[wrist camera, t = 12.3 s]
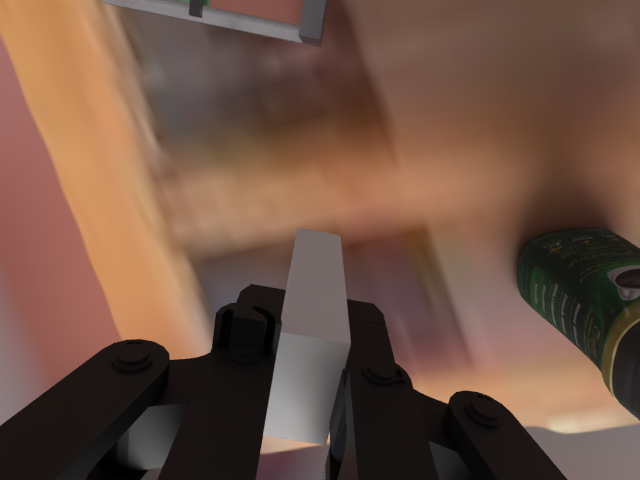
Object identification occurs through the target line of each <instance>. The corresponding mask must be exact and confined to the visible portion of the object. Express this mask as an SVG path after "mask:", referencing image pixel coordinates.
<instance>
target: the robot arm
mask: <svg viewBox="0 0 640 480" xmlns="http://www.w3.org/2000/svg"><path fill="white" fill-rule="evenodd" d="M329 431H330V449H329V452H328V456H327V460H326V464H325V468H324V472H323V476H322V480H567V479H566V477H565V476H564V475H563V474H562V473H561V471H560V470H559V469H558V468H557V467H556V465H554V463H553V462H552V461H551V459H550V458H549V457H548V456H547V455H546V454H545V452H544V451H543V450H542V449H541V448H540V446H539V445H538V444H537V443H536V442H535V440H533V438H532V437H531V436H530V434H529V433H528V432H527V431H526V430H525V429H524V427H523V426H522V425H521V424H520V423H519V421H518V420H517V419H516V418H515V417H514V415H513V414H512V413H511V412H510V411H509V410H508V409H507V408H506V407H504V406H503V405H502V404H501V403H499V402H498V401H496V400H494V399H493V398H491V397H489V396H487V395H484V394H482V393H478V392H473V391H460V392H456V393H455V394H454V395H453V396H451V397H450V400H449V403H448V404H446V403H444V402H441V401H439V400H436V399H433V398H431V397H428V396H426V395H424V394H422V393H420V392H418V391H416V390H415V389H413V385H412V382H411V379H410V377H409V376H408V374H407V372H406V371H405V370H404V369H403V368H401V367H400V366H399V365H398V364H396V363H395V360H394V356H393V352H392V348H391V344H390V340H389V336H388V332H387V328H386V324H385V320H384V316H383V313H382V312H381V311H380V310H379V309H378V308H377V307H376V306H375V305H374V304H372V303H366V302H360V301H354V300H349V299H347V298H346V288H345V278H344V268H343V258H342V248H341V238H340V235H335V234H330V233H324V232H319V231H313V230H307V229H302V228H297V233H296V239H295V244H294V250H293V255H292V261H291V266H290V272H289V277H288V283H287V288H286V290H283V289H277V288H271V287H265V286H259V285H253V284H251V285H249V286H248V287H246V288H245V289H244V290H242V291H241V292H240V295H239V297H238V300H237V303H230V304H228V305H226V306H224V307H221V308H220V310H219V311H218V312H217V313H216V318H215V327H214V335H213V344H212V349H211V352H210V353H208V354H206V355H203V356H200V357H197V358H190V359H179V360H170V359H169V353H168V352H167V350H166V349H165V348H164V347H163V346H161V345H159V344H157V343H155V342H153V341H147V340H142V339H136V340H125V341H121V342H117V343H113V344H112V345H110V346H108V347H106V348H104V349H102V350H101V351H99V352H98V353H97V354H95V355H94V356H93V357H92V358H90V359H89V360H87V361H86V362H85V363H83V364H82V365H81V366H79V367H78V368H77V369H75V370H74V371H73V372H71V373H70V374H69V375H67V376H66V377H65V378H63V379H62V380H61V381H59V382H58V383H57V384H55V385H54V386H53V387H51V388H50V389H49V390H47V391H46V392H45V393H43V394H42V395H41V396H39V397H38V398H37V399H36V400H34V401H33V402H31V403H30V404H29V405H28V406H26V407H25V408H23V409H22V410H21V411H19V412H18V413H17V414H15V415H14V416H13V417H11V418H10V419H9V420H7V421H6V422H5V423H3V424H2V425H1V426H0V480H154V479H155V477H156V476H157V474H158V472H159V470H160V468H161V467H163V468H162V470H161V473H160V475H159V477H158V480H255V479H256V473H257V467H258V462H259V456H260V450H261V444H262V438H263V436H269V437H276V438H282V439H289V440H295V441H302V442H309V443H315V444H322V445H326V443H327V439H328V435H329Z"/></svg>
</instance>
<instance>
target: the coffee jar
mask: <svg viewBox="0 0 640 480" xmlns="http://www.w3.org/2000/svg"><path fill="white" fill-rule="evenodd" d="M517 279H518V288H519V292H520V294H521V296H522V298H523V299H524V300H525V301H526V302H527V303H528V304H529V305H530V306H531V307H532V308H533V309H534V310H535V311H536V312H537V313H538V314H540V315H541V316H542V317H543V318H544V319H545V320H547V321H548V322H549V323H550V324H551V325H553V326H554V327H555V328H556V329H557V330H559V331H560V332H561V333H562V334H563V335H564V336H565V337H567V338H568V339H569V340H570V341H571V342H572V343H573V344H574V345H575V346H576V347H577V348H579V349H580V350H581V351H582V352H583V353H584V354H585V355H586V356H587V357H588V358H589V359H590V360H591V361H592V362H593V363H594V364H595V365H596V366H597V367H598V369H599V370H600V371H601V372H602V376H603V380H604V382H605V385H606V387H607V388H608V390H609V392H610V393H611V395H612V396H613V397H614V398H615V400H616V401H618V402H619V403H620V404H621V405H622V406H623V407H625V408H626V409H627V410H628V411H629V412H630V413H632V414H633V415H634V416H635V417H637V418H638V419H639V420H640V249H639V248H638V247H636V246H635V245H633V244H632V243H630V242H629V241H627V240H626V239H624V238H622V237H621V236H619V235H617V234H615V233H613V232H612V231H610V230H607V229H602V228H583V229H573V230H564V231H558V232H553V233H549V234H545V235H542V236H539V237H537V238H535V239H533V240H532V241H530V242H529V243H528V244H527V245H526V246H525V248H524V249H523V251H522V253H521V255H520V258H519V263H518V273H517Z"/></svg>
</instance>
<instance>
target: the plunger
mask: <svg viewBox="0 0 640 480" xmlns="http://www.w3.org/2000/svg"><path fill="white" fill-rule="evenodd" d="M202 13H203V0H190V4H189V15H190V16H193V17H198V18H202Z"/></svg>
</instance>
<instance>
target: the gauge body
mask: <svg viewBox="0 0 640 480" xmlns="http://www.w3.org/2000/svg"><path fill="white" fill-rule="evenodd" d="M328 1H329V0H203V13H202V18H198V17H193V16H190V15H189V4H190V0H102V2H103V3H106V4H109V5H114V6H119V7H124V8H129V9H134V10H139V11H144V12H148V13H153V14H158V15H163V16H168V17H173V18H178V19H183V20H188V21H193V22H198V23H203V24H208V25H213V26H217V27H222V28H227V29H232V30H237V31H242V32H247V33H252V34H257V35H262V36H267V37H272V38H277V39H281V40H286V41H291V42H296V43H301V44H306V45H311V46H316V47H321V42H322V36H323V30H324V24H325V19H326V13H327V7H328Z"/></svg>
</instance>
